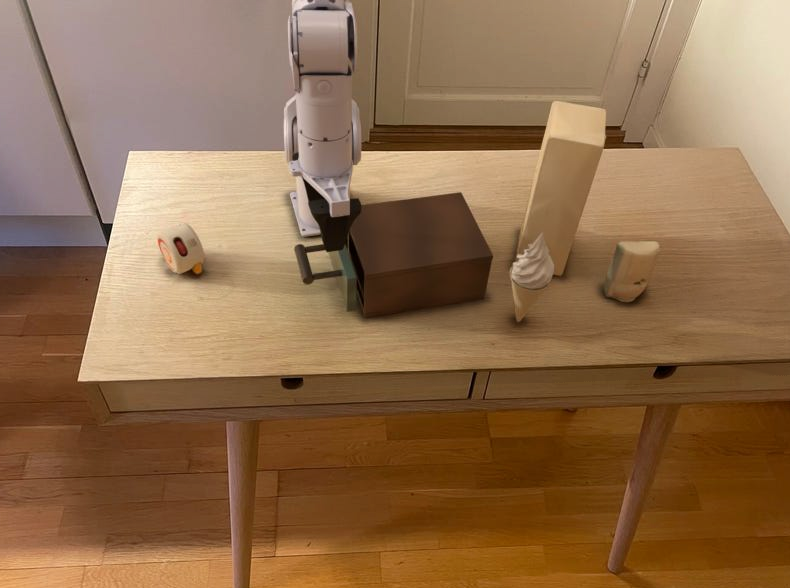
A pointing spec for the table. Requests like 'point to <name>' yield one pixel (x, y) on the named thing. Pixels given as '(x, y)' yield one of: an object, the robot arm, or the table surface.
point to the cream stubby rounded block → (630, 269)
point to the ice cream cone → (530, 276)
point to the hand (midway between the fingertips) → (326, 228)
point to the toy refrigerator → (563, 178)
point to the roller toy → (181, 249)
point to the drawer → (336, 270)
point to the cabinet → (420, 254)
